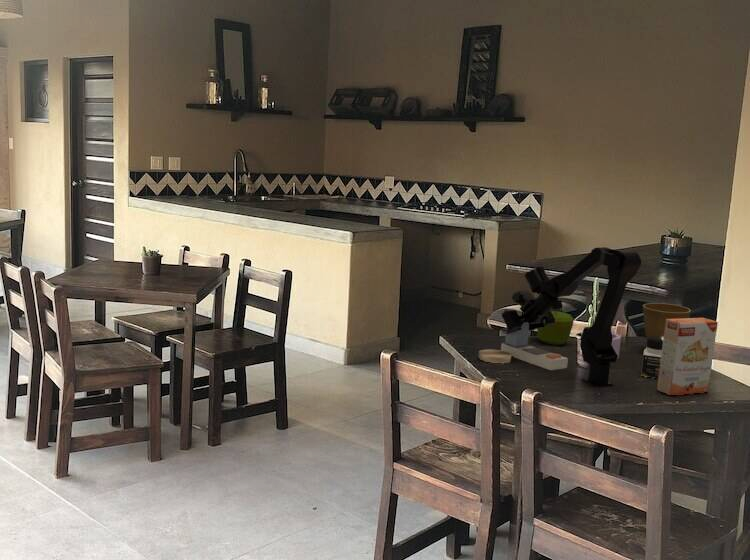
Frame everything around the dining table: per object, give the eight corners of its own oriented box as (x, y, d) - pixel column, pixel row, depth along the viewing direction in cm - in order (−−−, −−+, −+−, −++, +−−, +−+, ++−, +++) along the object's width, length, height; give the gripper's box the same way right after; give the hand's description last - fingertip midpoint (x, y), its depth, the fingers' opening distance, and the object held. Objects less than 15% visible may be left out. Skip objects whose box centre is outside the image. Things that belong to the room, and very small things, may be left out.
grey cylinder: (527, 345, 256) (529, 320, 255) (515, 346, 254) (518, 321, 252) (516, 341, 260) (518, 317, 259) (505, 342, 258) (507, 318, 256)
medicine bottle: (640, 376, 239) (645, 337, 237) (641, 371, 245) (646, 332, 243) (666, 380, 236) (670, 341, 234) (666, 374, 243) (671, 336, 241)
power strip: (566, 367, 244) (568, 355, 243) (550, 370, 240) (551, 358, 240) (516, 350, 262) (517, 338, 262) (500, 352, 258) (501, 340, 258)
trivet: (515, 364, 245) (516, 357, 245) (485, 364, 243) (485, 358, 242) (503, 355, 255) (503, 349, 254) (473, 355, 252) (474, 349, 252)
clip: (581, 344, 276) (583, 324, 275) (619, 349, 273) (621, 329, 271) (578, 358, 257) (580, 337, 256) (618, 363, 254) (620, 342, 253)
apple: (538, 336, 284) (541, 305, 282) (573, 341, 279) (576, 309, 277) (531, 343, 272) (534, 311, 270) (567, 349, 268) (570, 316, 266)
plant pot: (640, 346, 278) (645, 301, 275) (686, 352, 272) (692, 306, 269) (635, 355, 264) (640, 308, 262) (683, 362, 258) (689, 314, 256)
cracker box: (671, 397, 220) (680, 323, 216) (655, 390, 225) (664, 318, 222) (709, 393, 225) (718, 321, 222) (693, 387, 231) (702, 316, 227)
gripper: (551, 282, 256) (524, 309, 266) (508, 285, 245) (481, 313, 256) (567, 311, 250) (539, 337, 261) (524, 315, 240) (496, 342, 251)
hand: (514, 332), depth 258 cm, fingers open, 6 cm apart
